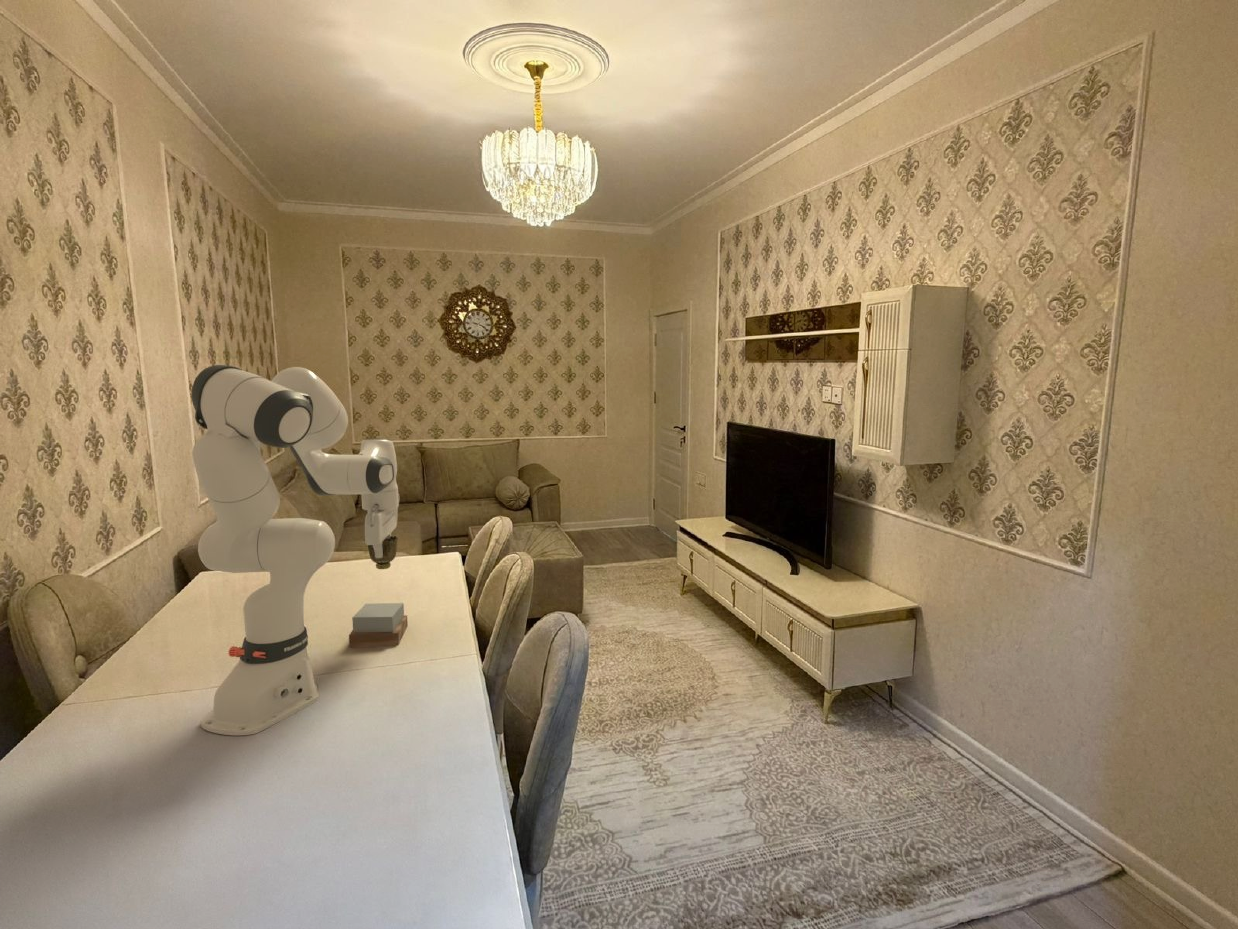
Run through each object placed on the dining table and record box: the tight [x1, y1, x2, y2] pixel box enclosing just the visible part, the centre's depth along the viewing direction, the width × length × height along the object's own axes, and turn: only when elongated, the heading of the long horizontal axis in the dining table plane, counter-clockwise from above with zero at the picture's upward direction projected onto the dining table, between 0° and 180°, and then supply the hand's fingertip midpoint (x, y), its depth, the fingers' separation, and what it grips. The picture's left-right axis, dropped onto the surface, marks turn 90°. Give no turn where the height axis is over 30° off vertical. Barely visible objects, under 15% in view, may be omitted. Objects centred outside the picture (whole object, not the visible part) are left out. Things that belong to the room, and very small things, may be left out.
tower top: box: [351, 602, 405, 633], centre depth 166 cm, size 10×10×4 cm
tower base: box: [348, 614, 409, 649], centre depth 167 cm, size 12×12×4 cm
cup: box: [367, 535, 398, 570], centre depth 164 cm, size 8×7×8 cm
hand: (382, 553), depth 164 cm, fingers closed on cup, 6 cm apart
